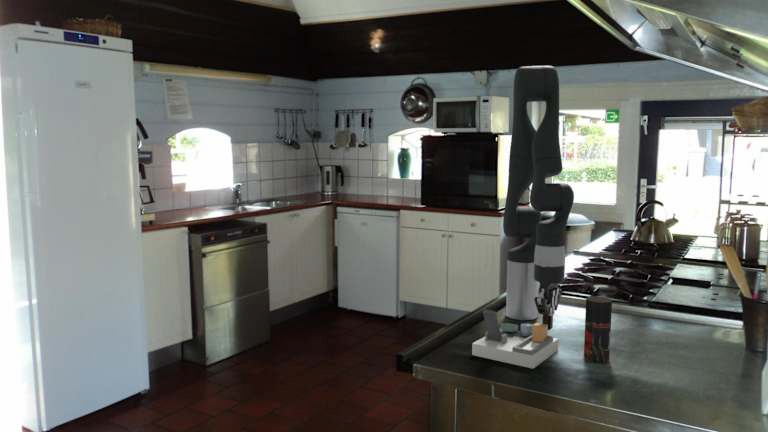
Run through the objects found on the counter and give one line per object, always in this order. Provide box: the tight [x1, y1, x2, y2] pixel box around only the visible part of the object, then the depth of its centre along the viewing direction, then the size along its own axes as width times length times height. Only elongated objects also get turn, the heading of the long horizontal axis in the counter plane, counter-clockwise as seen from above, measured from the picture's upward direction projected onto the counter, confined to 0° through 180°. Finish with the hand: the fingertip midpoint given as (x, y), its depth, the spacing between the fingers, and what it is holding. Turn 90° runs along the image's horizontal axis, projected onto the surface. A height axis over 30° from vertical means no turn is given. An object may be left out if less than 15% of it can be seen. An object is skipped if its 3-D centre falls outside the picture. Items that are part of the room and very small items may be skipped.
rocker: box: [500, 322, 519, 332], centre depth 166 cm, size 4×3×2 cm
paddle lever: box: [482, 308, 501, 342], centre depth 157 cm, size 1×3×9 cm, turn 54°
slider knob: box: [532, 322, 549, 342], centre depth 159 cm, size 2×3×4 cm
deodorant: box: [583, 295, 613, 365], centre depth 154 cm, size 6×6×15 cm
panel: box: [471, 327, 559, 370], centre depth 160 cm, size 16×16×5 cm
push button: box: [519, 322, 533, 336], centre depth 164 cm, size 3×3×2 cm
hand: (547, 328), depth 163 cm, fingers closed
